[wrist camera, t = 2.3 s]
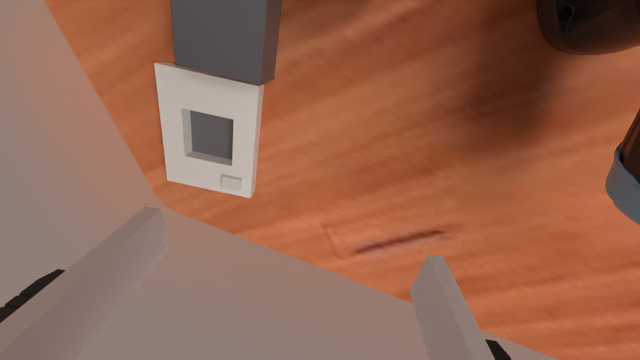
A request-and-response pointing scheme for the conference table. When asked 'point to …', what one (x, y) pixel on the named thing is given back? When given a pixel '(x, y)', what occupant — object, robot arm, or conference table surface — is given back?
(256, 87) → the socket
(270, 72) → the plug
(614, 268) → the conference table surface
